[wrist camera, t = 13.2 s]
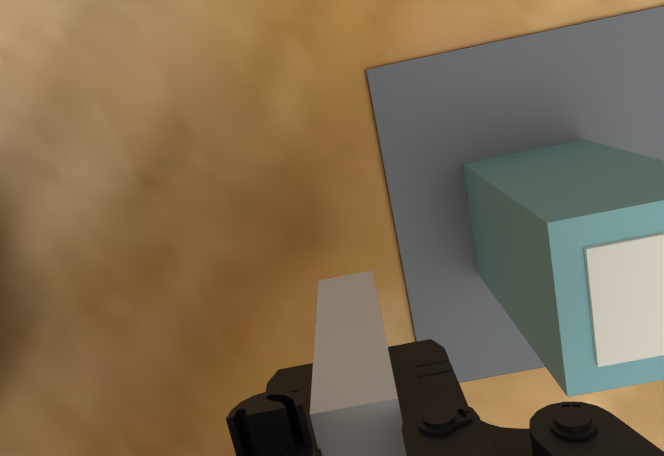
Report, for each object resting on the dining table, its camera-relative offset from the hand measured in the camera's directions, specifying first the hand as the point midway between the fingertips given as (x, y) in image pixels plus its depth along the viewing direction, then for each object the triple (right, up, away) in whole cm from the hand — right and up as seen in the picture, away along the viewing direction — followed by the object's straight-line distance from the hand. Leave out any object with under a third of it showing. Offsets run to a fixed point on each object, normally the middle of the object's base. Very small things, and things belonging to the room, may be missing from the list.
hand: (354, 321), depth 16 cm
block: (+7, +3, +6) cm, 10 cm away
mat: (+10, +4, +6) cm, 13 cm away
